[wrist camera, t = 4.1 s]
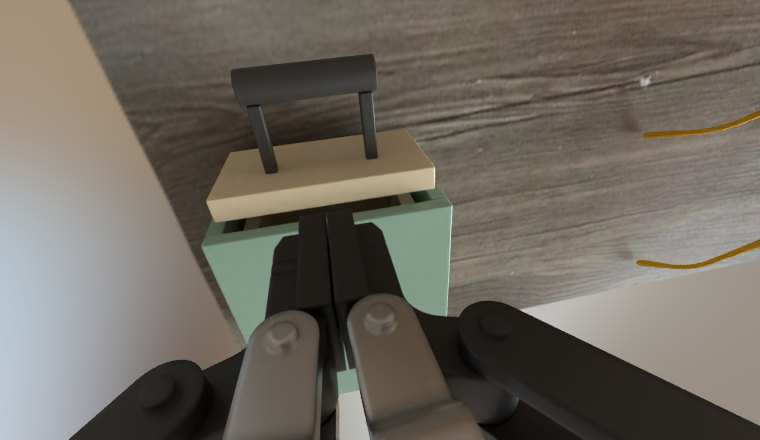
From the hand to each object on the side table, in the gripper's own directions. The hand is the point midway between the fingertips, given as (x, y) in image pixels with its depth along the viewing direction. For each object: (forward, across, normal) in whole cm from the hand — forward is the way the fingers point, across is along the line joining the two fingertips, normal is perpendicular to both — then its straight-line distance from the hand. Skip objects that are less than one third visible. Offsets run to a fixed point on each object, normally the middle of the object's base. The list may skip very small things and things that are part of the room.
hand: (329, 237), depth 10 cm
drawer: (+11, 0, +5) cm, 12 cm away
